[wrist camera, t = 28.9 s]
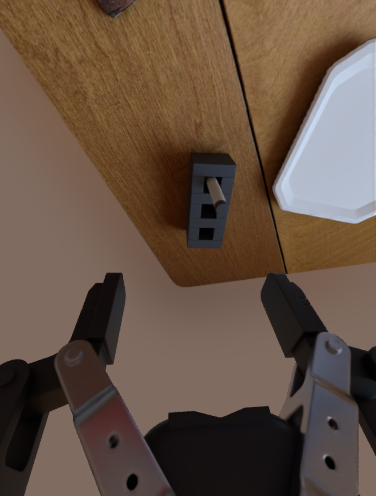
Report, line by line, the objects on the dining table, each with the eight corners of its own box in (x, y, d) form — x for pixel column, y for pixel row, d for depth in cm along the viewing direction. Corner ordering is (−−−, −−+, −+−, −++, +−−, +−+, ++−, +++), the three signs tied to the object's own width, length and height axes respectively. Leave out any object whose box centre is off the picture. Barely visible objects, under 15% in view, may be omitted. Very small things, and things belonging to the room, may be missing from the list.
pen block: (216, 231, 39) (221, 248, 35) (186, 231, 39) (187, 248, 35) (228, 154, 31) (236, 165, 27) (190, 152, 31) (193, 163, 27)
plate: (336, 31, 24) (349, 27, 22) (475, 82, 27) (496, 82, 26) (259, 201, 36) (263, 207, 34) (362, 221, 40) (371, 227, 38)
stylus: (202, 175, 33) (214, 214, 23) (204, 166, 32) (217, 202, 23) (211, 177, 33) (226, 216, 24) (213, 168, 32) (230, 204, 23)
